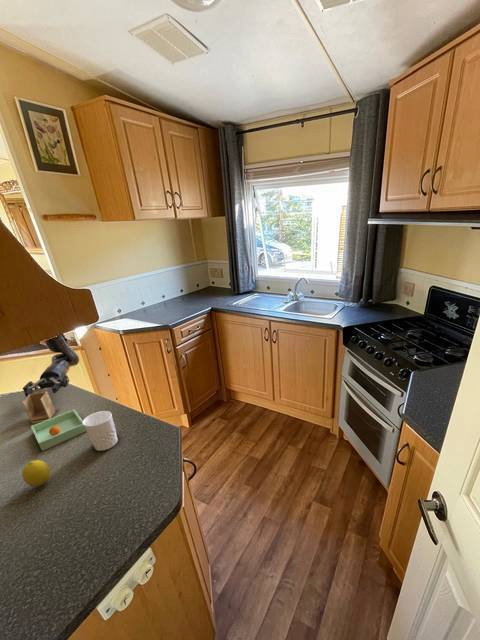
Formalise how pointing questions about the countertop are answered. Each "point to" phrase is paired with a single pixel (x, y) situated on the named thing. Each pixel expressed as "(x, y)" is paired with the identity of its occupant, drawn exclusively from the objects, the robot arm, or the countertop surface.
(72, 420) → the tray
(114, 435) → the white cup
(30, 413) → the open wooden box
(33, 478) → the lemon
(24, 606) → the countertop surface
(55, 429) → the ball
